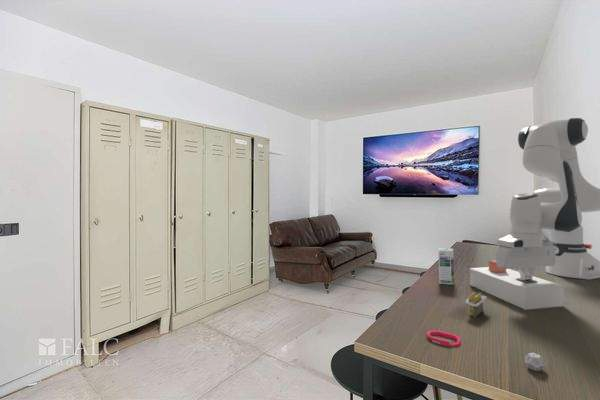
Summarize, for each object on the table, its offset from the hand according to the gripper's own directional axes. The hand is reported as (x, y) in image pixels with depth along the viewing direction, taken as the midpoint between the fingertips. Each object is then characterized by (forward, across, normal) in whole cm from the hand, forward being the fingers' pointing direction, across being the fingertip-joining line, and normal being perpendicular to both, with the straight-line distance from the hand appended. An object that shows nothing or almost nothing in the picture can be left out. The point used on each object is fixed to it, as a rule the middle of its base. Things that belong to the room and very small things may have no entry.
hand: (526, 279), depth 103 cm
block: (+8, 0, -7) cm, 10 cm away
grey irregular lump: (+8, +32, +34) cm, 48 cm away
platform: (+8, +24, +6) cm, 26 cm away
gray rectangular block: (+6, 0, 0) cm, 6 cm away
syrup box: (+8, +14, -25) cm, 29 cm away
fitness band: (+8, +44, +19) cm, 49 cm away
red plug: (+2, 0, -13) cm, 13 cm away
